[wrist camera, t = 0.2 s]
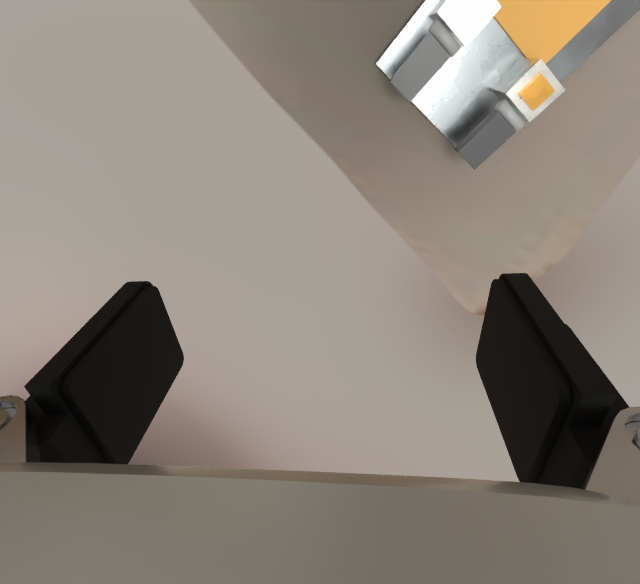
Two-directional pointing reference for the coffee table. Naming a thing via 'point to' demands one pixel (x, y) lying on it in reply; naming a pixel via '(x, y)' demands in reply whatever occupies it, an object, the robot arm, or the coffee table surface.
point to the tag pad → (545, 23)
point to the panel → (492, 63)
